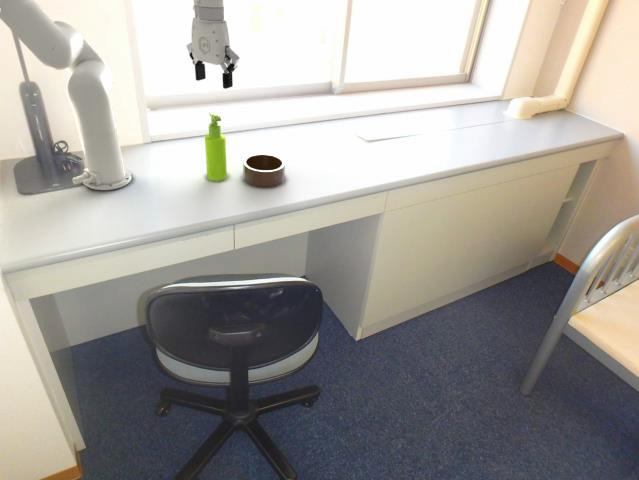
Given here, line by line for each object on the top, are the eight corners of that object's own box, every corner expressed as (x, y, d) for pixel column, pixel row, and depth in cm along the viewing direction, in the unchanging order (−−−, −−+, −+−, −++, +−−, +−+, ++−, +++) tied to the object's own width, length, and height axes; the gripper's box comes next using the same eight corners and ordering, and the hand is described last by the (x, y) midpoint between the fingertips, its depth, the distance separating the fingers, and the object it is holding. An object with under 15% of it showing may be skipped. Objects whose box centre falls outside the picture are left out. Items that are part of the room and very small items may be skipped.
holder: (267, 192, 132) (268, 175, 129) (235, 179, 137) (234, 162, 133) (291, 177, 141) (292, 161, 138) (260, 165, 146) (260, 150, 142)
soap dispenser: (211, 184, 133) (207, 119, 121) (205, 173, 138) (200, 110, 126) (230, 181, 135) (228, 117, 124) (223, 171, 140) (220, 109, 129)
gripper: (173, 9, 111) (180, 79, 121) (226, 21, 104) (229, 93, 114) (195, 7, 116) (200, 74, 126) (247, 18, 110) (247, 87, 119)
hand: (214, 83), depth 120 cm, fingers open, 9 cm apart
